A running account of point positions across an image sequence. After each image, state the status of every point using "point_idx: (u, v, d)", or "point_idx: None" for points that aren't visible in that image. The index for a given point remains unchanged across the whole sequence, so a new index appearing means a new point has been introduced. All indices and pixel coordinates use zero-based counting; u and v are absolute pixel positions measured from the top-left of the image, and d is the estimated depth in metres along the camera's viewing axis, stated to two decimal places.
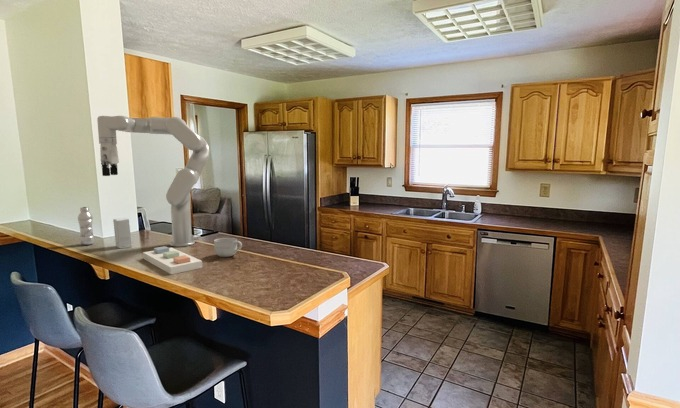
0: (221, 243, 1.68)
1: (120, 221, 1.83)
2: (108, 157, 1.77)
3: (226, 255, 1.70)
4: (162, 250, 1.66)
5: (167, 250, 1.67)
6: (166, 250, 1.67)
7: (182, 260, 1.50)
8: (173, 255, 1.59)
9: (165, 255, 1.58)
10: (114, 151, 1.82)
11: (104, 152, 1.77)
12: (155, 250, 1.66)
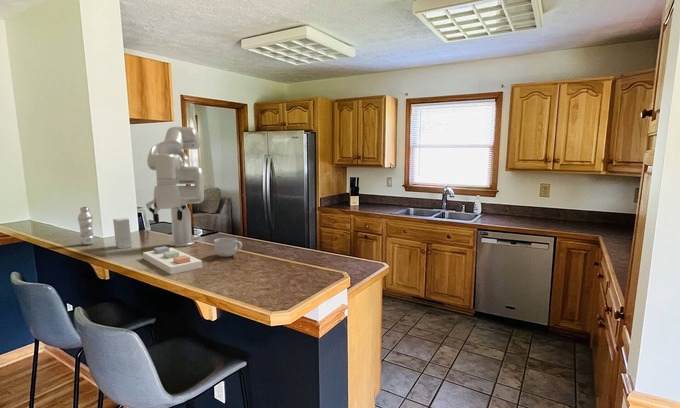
0: (221, 243, 1.68)
1: (120, 221, 1.83)
2: None
3: (226, 255, 1.70)
4: (162, 250, 1.66)
5: (167, 250, 1.67)
6: (166, 250, 1.67)
7: (182, 260, 1.50)
8: (173, 255, 1.59)
9: (165, 255, 1.58)
10: None
11: None
12: (155, 250, 1.66)
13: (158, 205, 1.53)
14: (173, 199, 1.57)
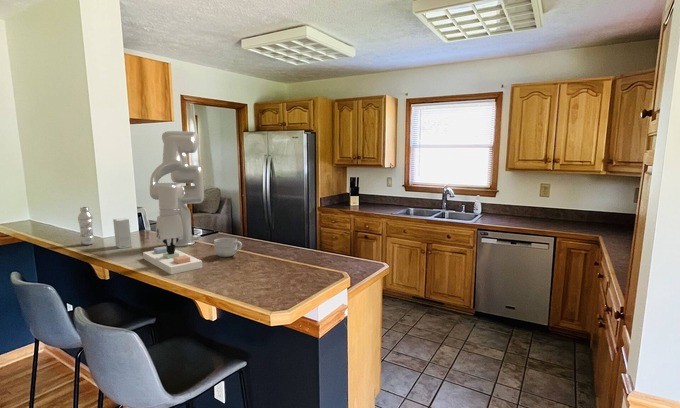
0: (221, 243, 1.68)
1: (120, 221, 1.83)
2: None
3: (226, 255, 1.70)
4: (162, 250, 1.66)
5: None
6: (166, 250, 1.67)
7: (182, 260, 1.50)
8: (173, 256, 1.59)
9: (165, 256, 1.58)
10: None
11: None
12: (155, 250, 1.66)
13: (161, 236, 1.54)
14: (175, 229, 1.58)
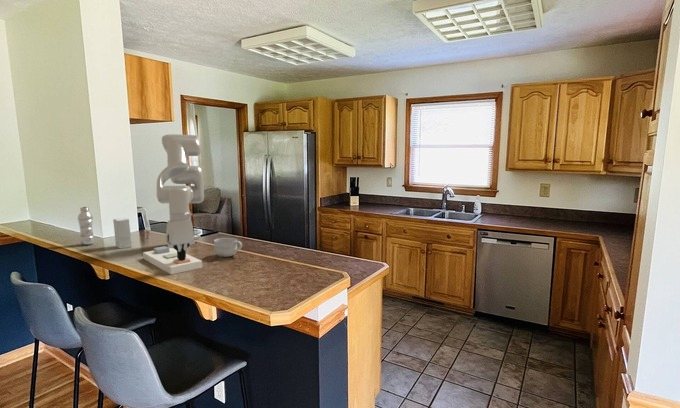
0: (221, 243, 1.68)
1: (120, 221, 1.83)
2: None
3: (226, 255, 1.70)
4: (162, 250, 1.66)
5: (167, 250, 1.67)
6: (166, 250, 1.67)
7: (182, 262, 1.51)
8: None
9: None
10: None
11: None
12: (155, 250, 1.66)
13: (171, 241, 1.47)
14: (186, 234, 1.51)
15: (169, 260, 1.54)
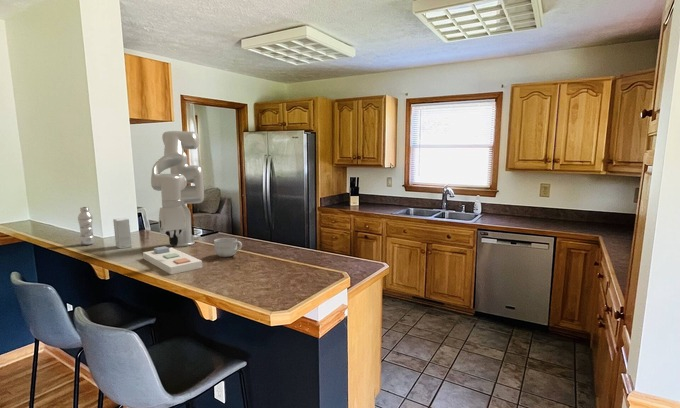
0: (221, 243, 1.68)
1: (120, 221, 1.83)
2: None
3: (226, 255, 1.70)
4: (162, 250, 1.66)
5: (167, 250, 1.67)
6: (166, 250, 1.67)
7: None
8: None
9: None
10: None
11: None
12: (155, 250, 1.66)
13: (164, 227, 1.52)
14: (178, 221, 1.56)
15: (169, 260, 1.54)
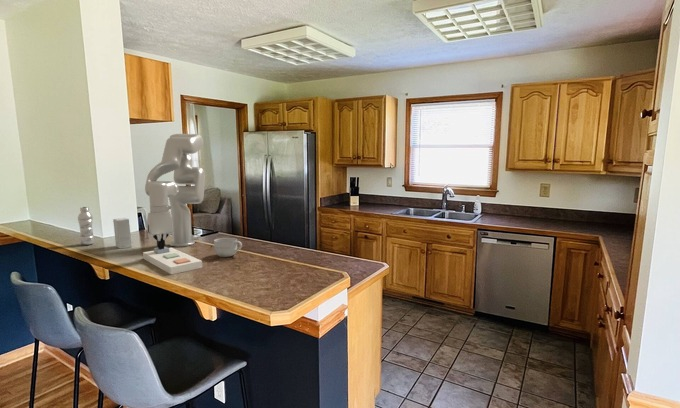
0: (221, 243, 1.68)
1: (120, 221, 1.83)
2: None
3: (226, 255, 1.70)
4: (162, 250, 1.66)
5: (167, 250, 1.67)
6: (166, 250, 1.67)
7: None
8: None
9: None
10: None
11: None
12: (155, 250, 1.66)
13: (151, 231, 1.62)
14: (165, 225, 1.66)
15: (169, 260, 1.54)
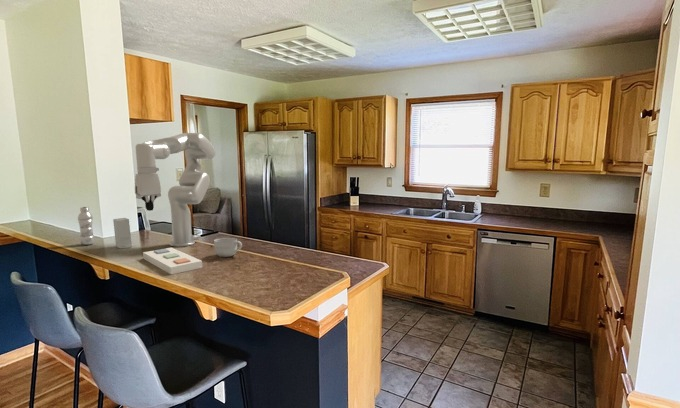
0: (221, 243, 1.68)
1: (120, 221, 1.83)
2: None
3: (226, 255, 1.70)
4: None
5: None
6: None
7: None
8: None
9: None
10: None
11: None
12: None
13: (139, 192, 1.62)
14: (153, 187, 1.66)
15: (169, 260, 1.54)
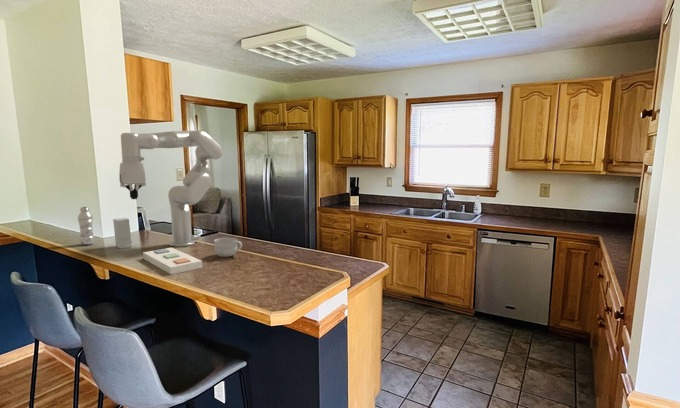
0: (221, 243, 1.68)
1: (120, 221, 1.83)
2: None
3: (226, 255, 1.70)
4: None
5: None
6: None
7: None
8: None
9: None
10: None
11: None
12: None
13: (123, 180, 1.64)
14: (138, 176, 1.68)
15: (169, 260, 1.54)
